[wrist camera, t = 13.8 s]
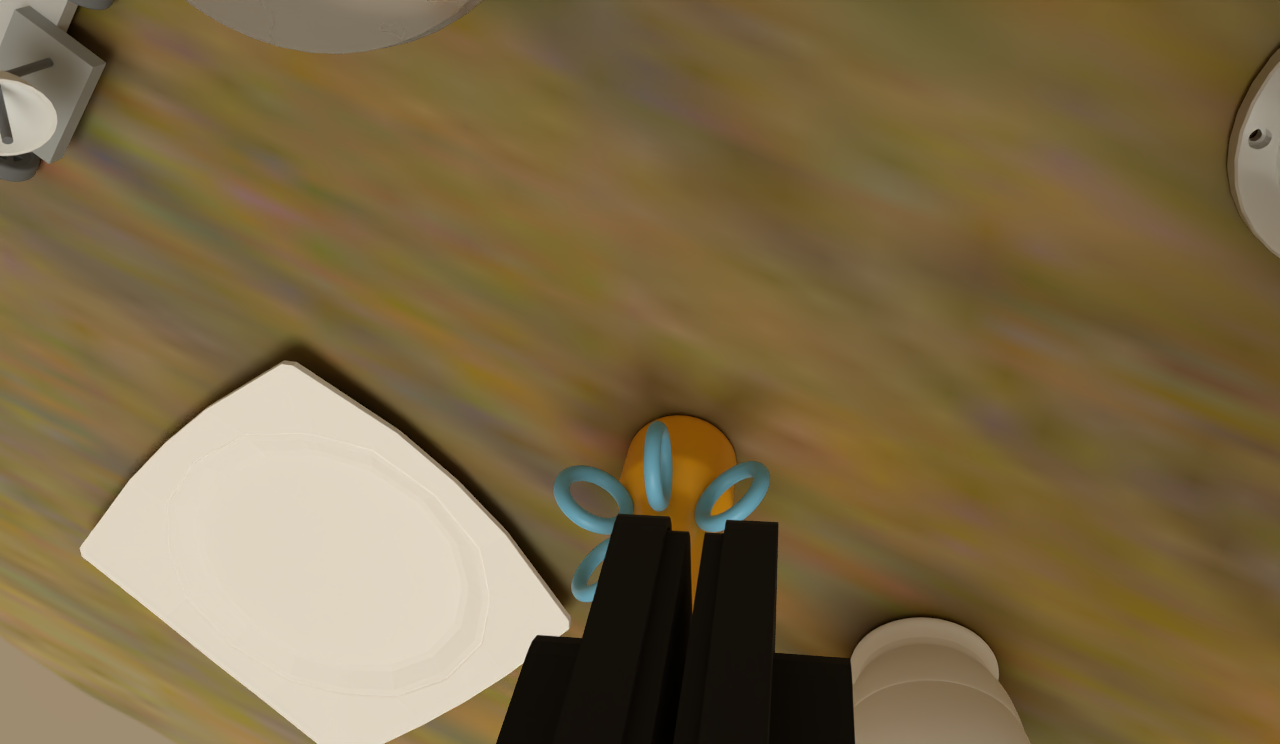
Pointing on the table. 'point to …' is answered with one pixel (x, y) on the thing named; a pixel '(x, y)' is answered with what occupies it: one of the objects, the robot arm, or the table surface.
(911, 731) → the jar
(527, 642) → the plate
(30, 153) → the toy car
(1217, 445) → the table surface
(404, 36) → the lid
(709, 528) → the orange blue upright piece
